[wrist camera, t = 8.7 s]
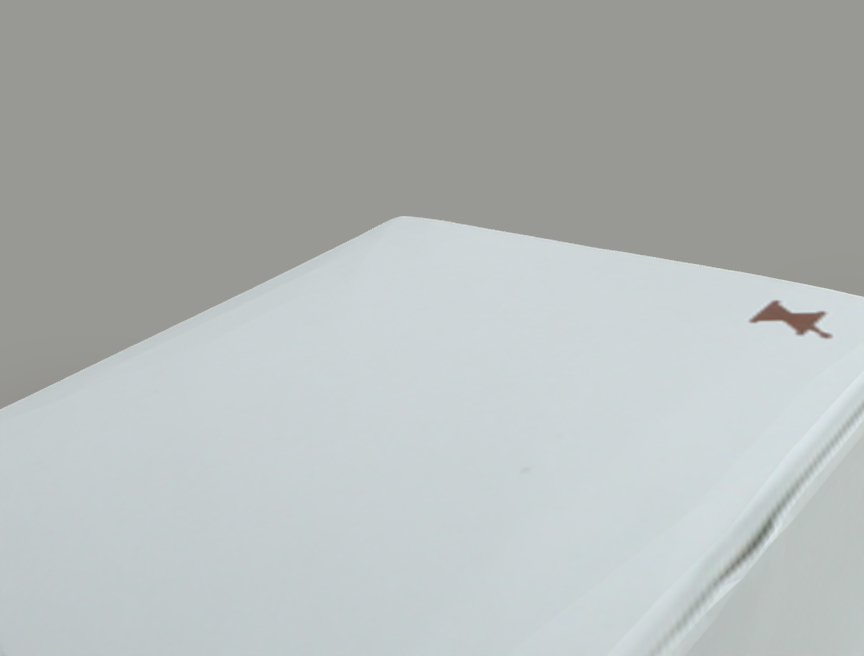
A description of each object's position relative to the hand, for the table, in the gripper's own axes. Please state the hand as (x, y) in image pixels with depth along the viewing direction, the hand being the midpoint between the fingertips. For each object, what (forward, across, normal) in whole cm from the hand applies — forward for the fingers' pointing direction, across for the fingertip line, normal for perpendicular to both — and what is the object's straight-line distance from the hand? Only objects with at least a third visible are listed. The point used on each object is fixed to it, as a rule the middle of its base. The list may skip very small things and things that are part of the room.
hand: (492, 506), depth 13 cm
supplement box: (-4, 0, -8) cm, 9 cm away
